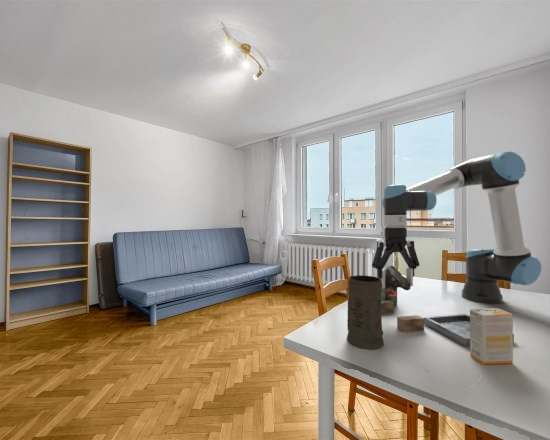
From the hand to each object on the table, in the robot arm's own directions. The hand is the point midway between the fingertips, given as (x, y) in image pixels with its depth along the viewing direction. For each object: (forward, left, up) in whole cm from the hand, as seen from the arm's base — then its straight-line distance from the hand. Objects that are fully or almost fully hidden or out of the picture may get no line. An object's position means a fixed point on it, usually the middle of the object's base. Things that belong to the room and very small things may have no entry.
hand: (395, 286), depth 99 cm
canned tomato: (-7, -16, -13) cm, 22 cm away
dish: (-16, +14, -12) cm, 24 cm away
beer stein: (+18, +12, -13) cm, 25 cm away
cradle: (0, 0, -12) cm, 12 cm away
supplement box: (-8, +30, -13) cm, 33 cm away
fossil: (0, 0, -1) cm, 1 cm away
